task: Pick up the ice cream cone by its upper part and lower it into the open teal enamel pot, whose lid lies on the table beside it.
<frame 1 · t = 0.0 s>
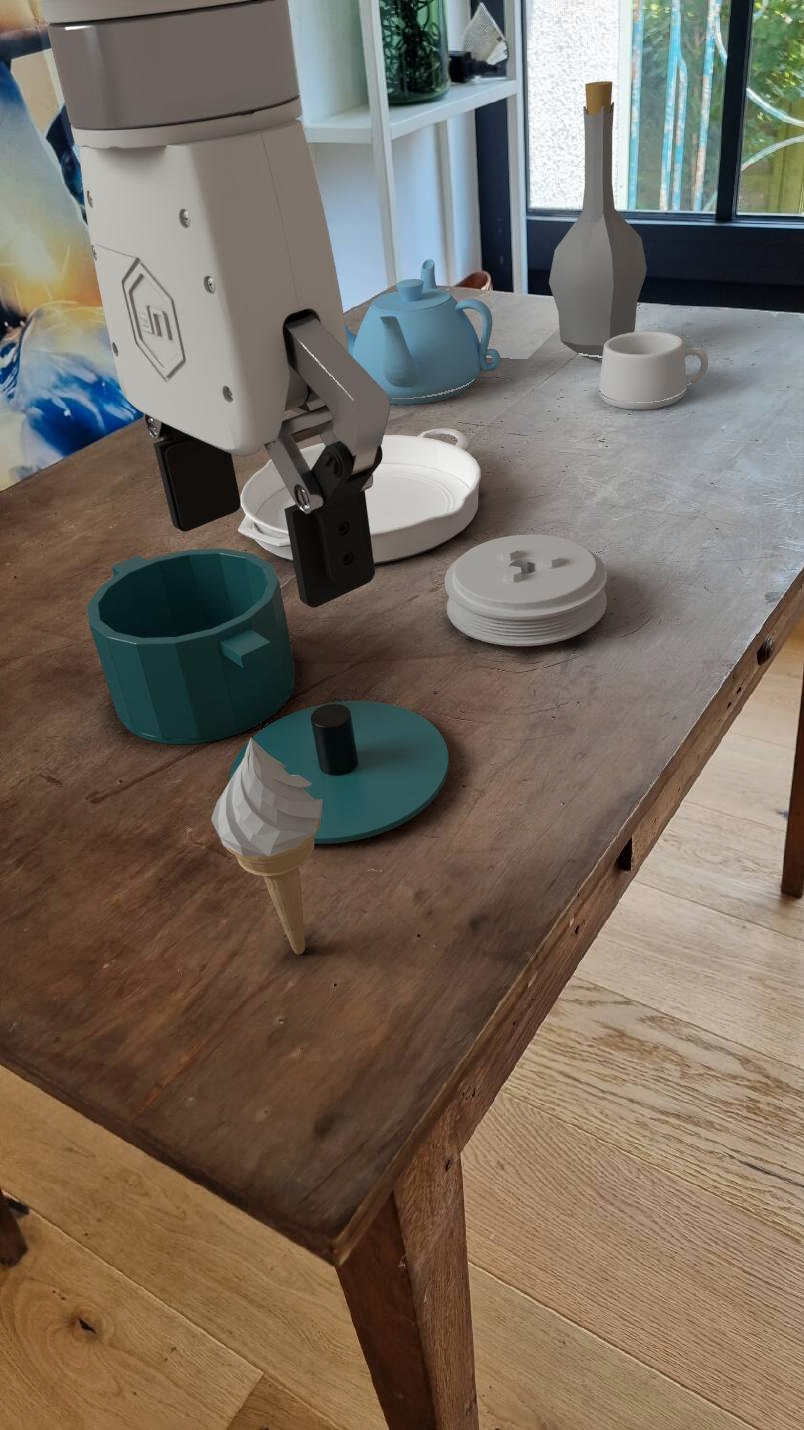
hand: (269, 553, 46), 25 cm above the table, tool pointing down, fingers open, 9 cm apart
mug: (652, 397, 125), on the table
pot: (206, 690, 84), on the table
bottle: (597, 363, 136), on the table
pan: (367, 516, 107), on the table
ice cream cone: (299, 955, 62), on the table
lid: (526, 616, 89), on the table
teapot: (411, 386, 136), on the table
pot lid: (339, 769, 74), point 1 cm above the table
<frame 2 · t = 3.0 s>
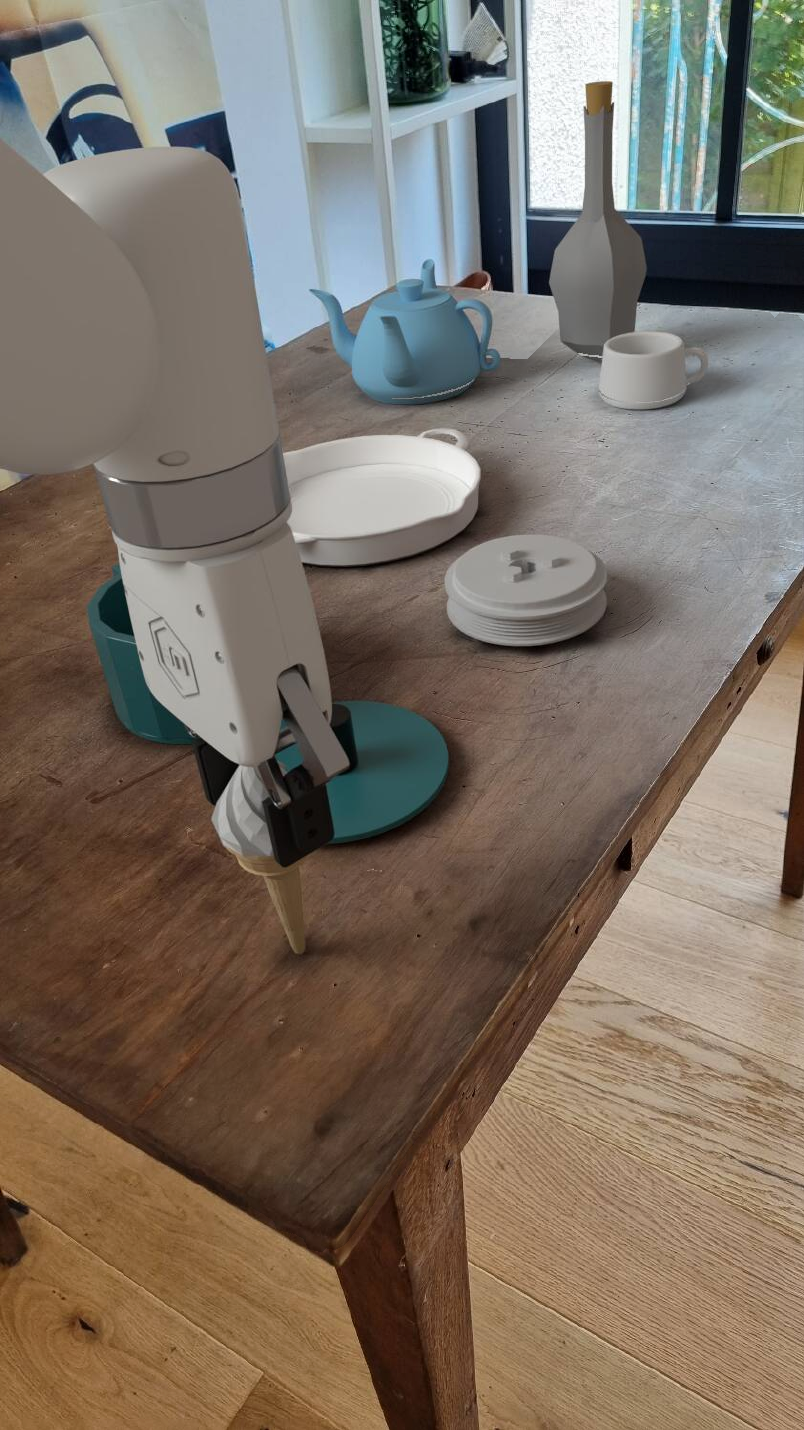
hand: (269, 817, 56), 10 cm above the table, tool pointing down, fingers closed on ice cream cone, 5 cm apart
ice cream cone: (299, 955, 62), on the table, touching gripper
everything else where it was.
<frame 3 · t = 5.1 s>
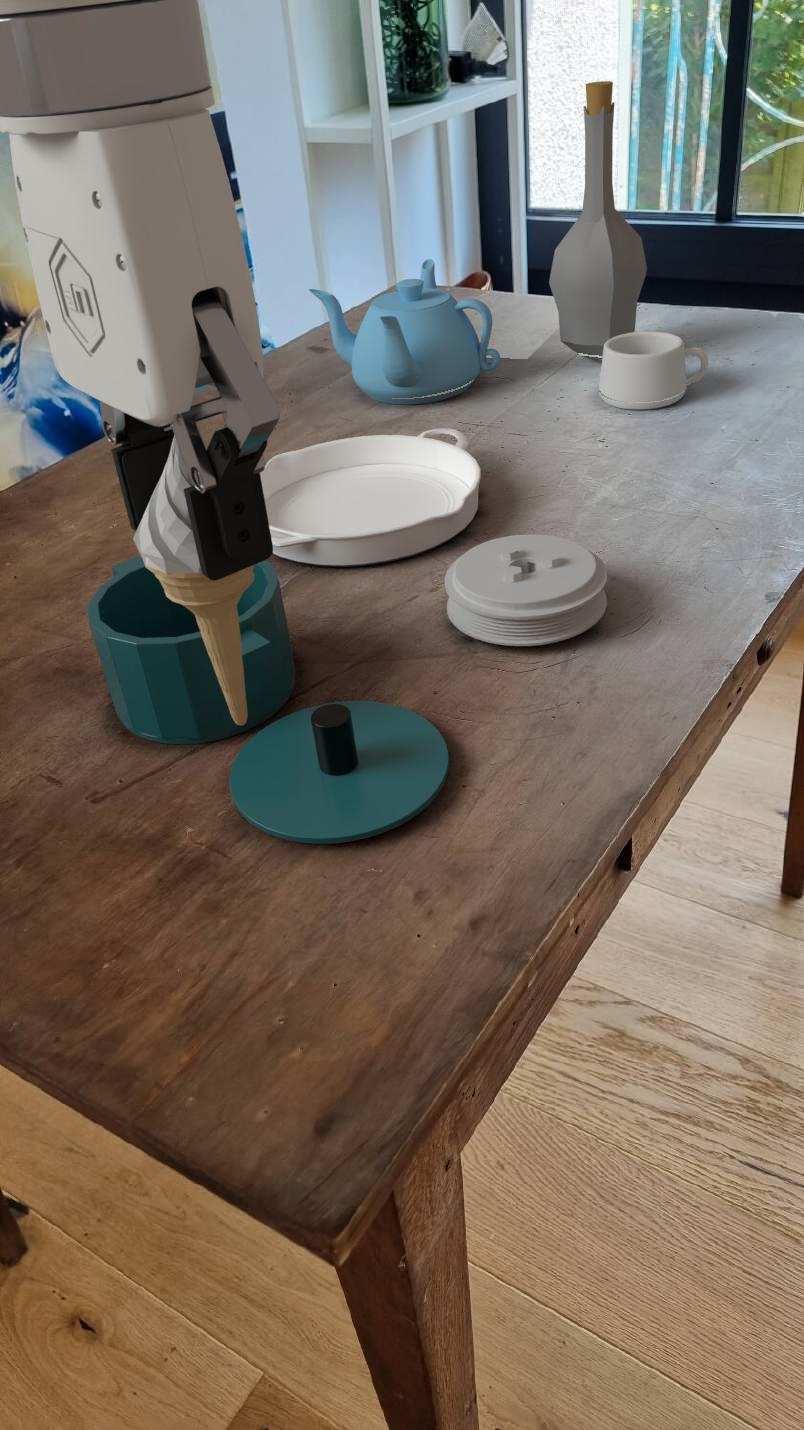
hand: (200, 540, 48), 25 cm above the table, tool pointing down, fingers closed on ice cream cone, 5 cm apart
ice cream cone: (241, 728, 54), point 15 cm above the table, touching gripper
everything else where it was.
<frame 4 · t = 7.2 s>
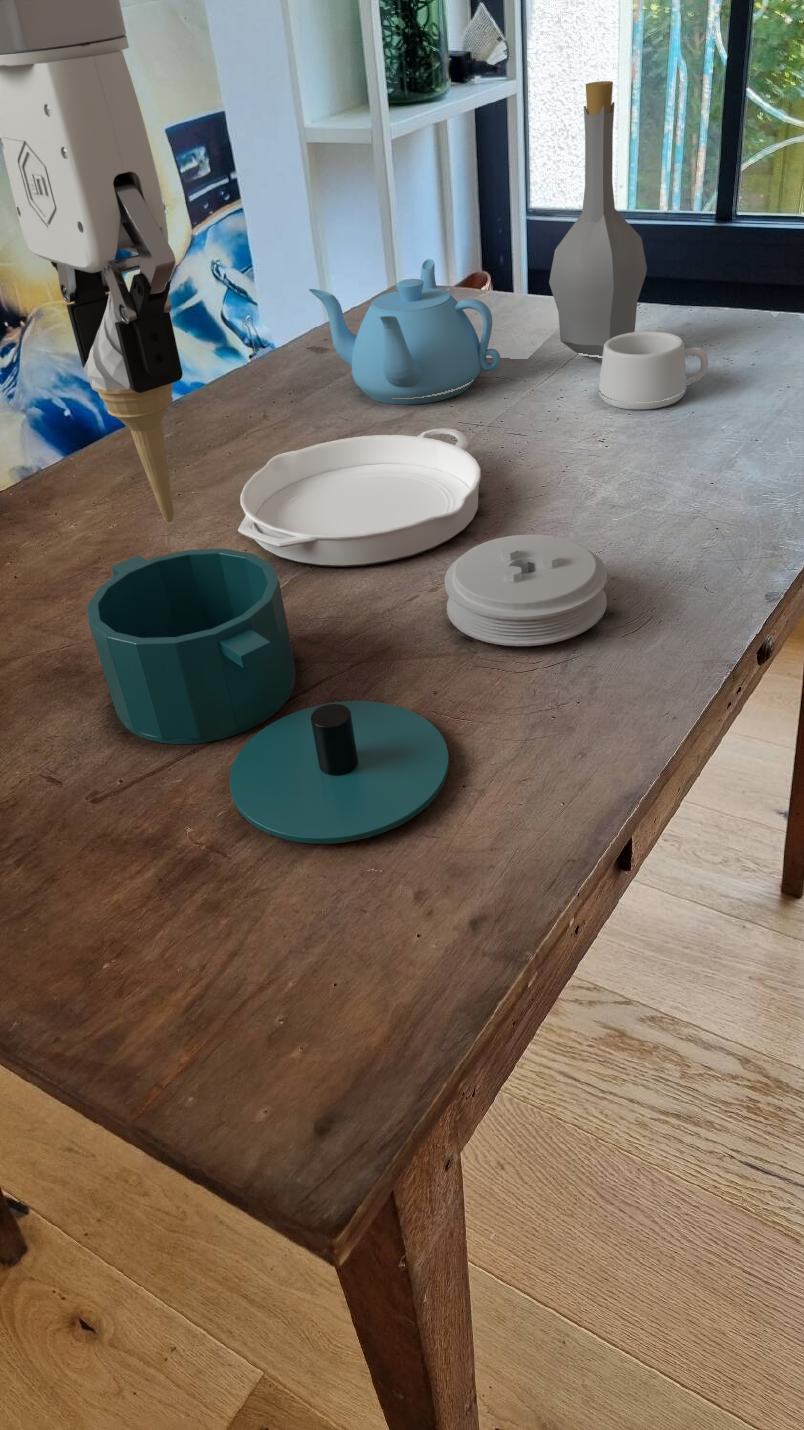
hand: (131, 372, 67), 25 cm above the table, tool pointing down, fingers closed on ice cream cone, 5 cm apart
ice cream cone: (169, 524, 73), point 15 cm above the table, touching gripper
everything else where it was.
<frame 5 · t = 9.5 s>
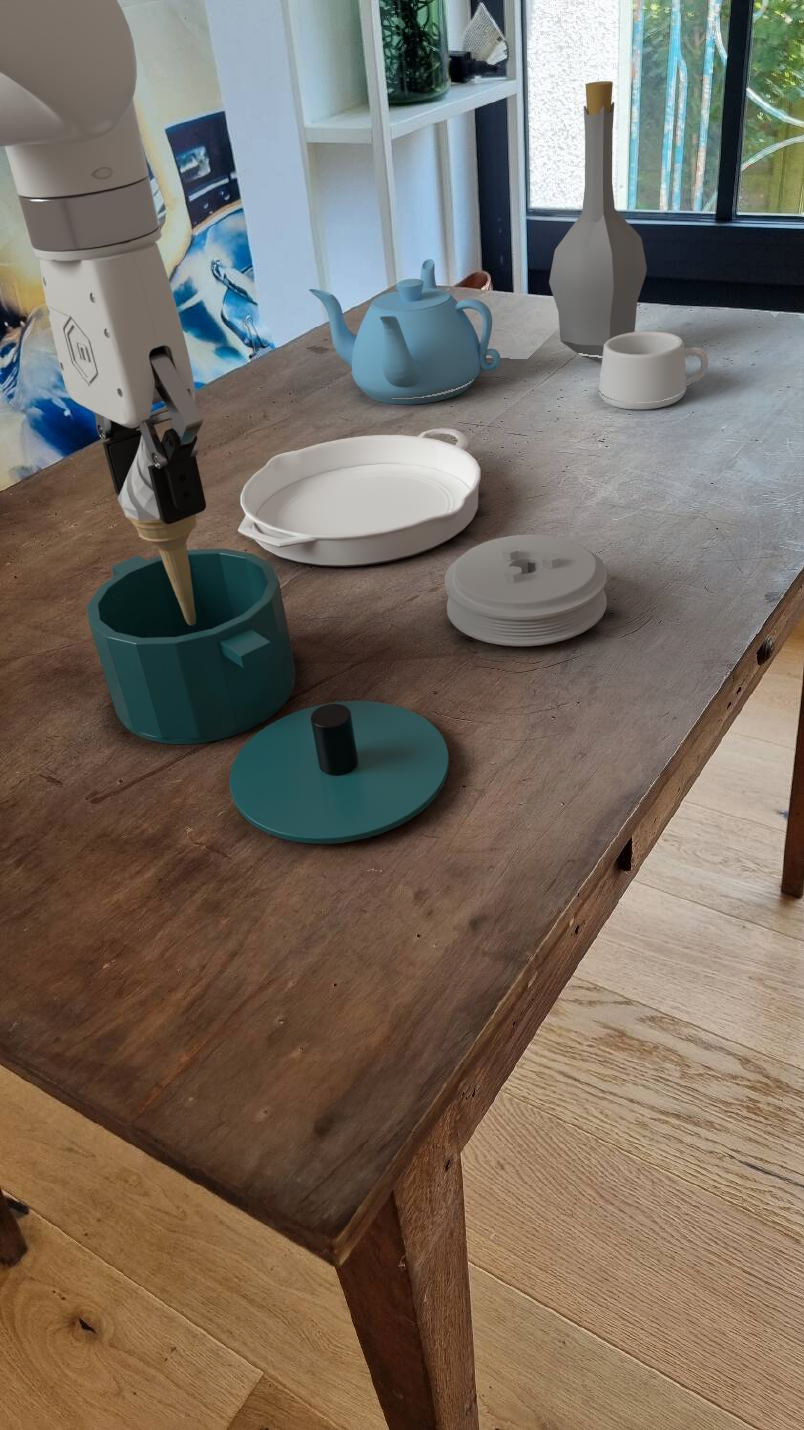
hand: (160, 500, 75), 16 cm above the table, tool pointing down, fingers closed on ice cream cone, 5 cm apart
ice cream cone: (192, 627, 81), point 6 cm above the table, touching gripper
everything else where it was.
when the fingers open (10 cm above the table, at t = 11.3 s): ice cream cone stays where it is, resting on pot.
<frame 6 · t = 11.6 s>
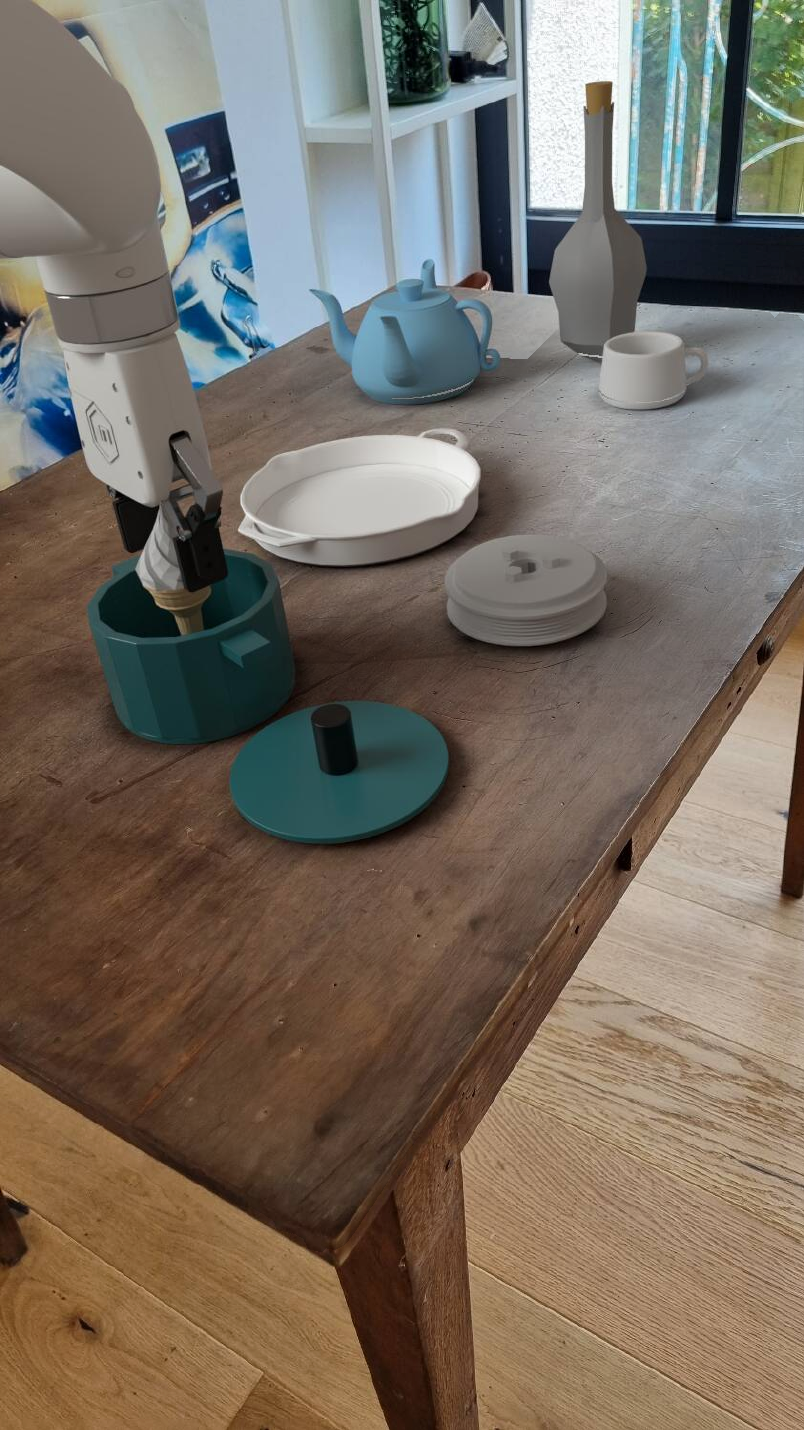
hand: (175, 563, 78), 11 cm above the table, tool pointing down, fingers open, 8 cm apart
ice cream cone: (205, 687, 84), resting on pot
everything else where it was.
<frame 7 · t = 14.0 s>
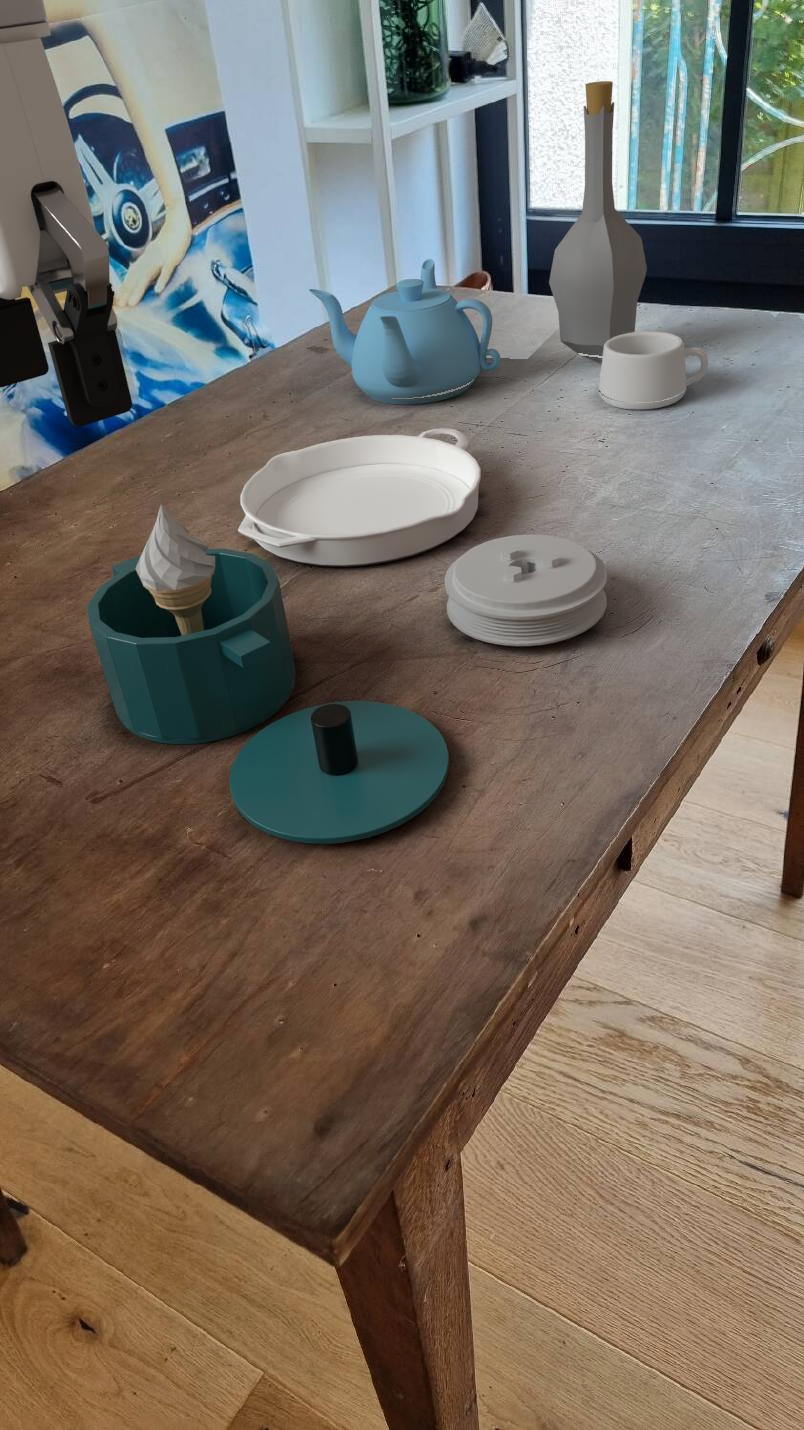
hand: (59, 397, 57), 28 cm above the table, tool pointing down, fingers open, 9 cm apart
nothing on the table moved.
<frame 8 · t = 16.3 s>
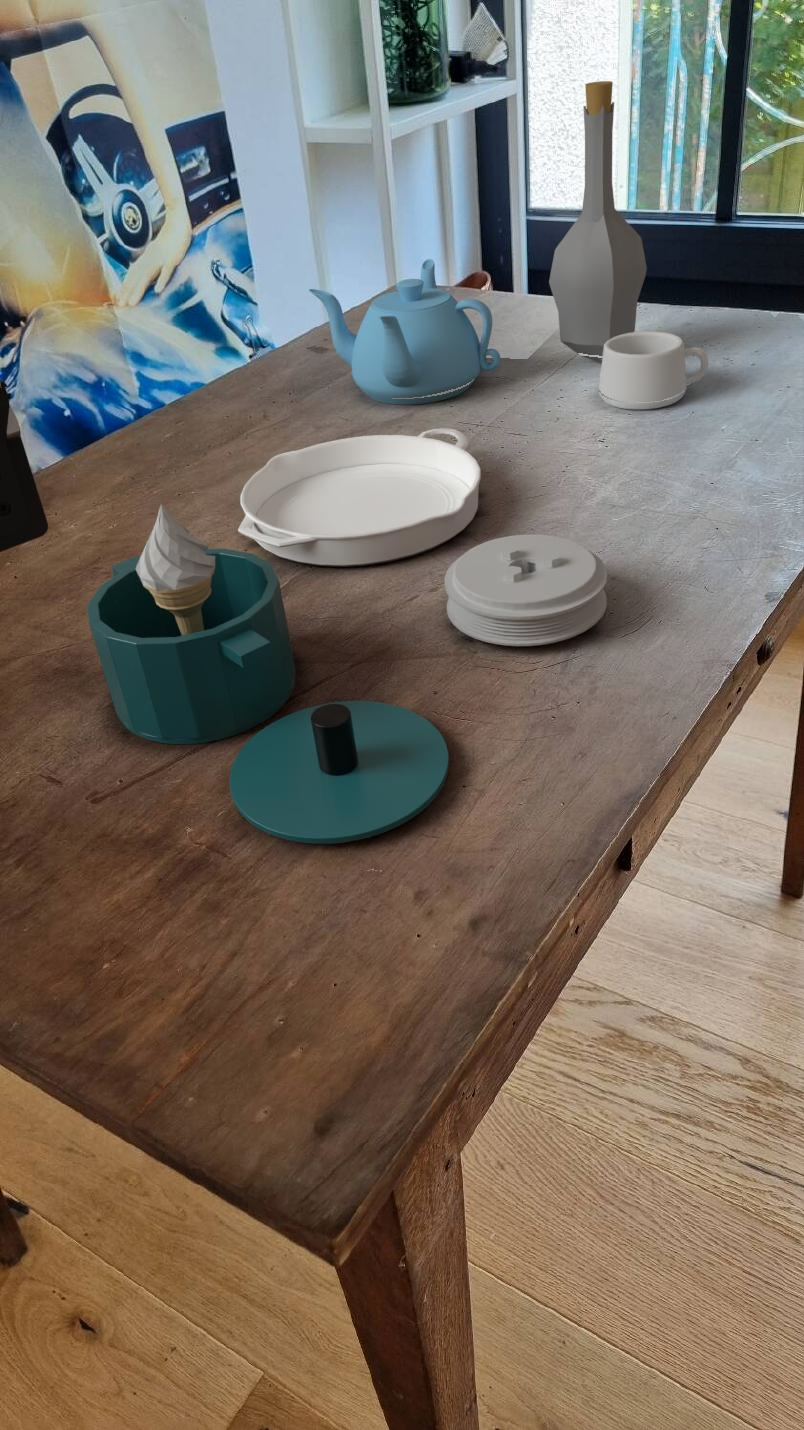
nothing on the table moved.
at the end: ice cream cone inside the target area in the pot (0.1 cm from its centre), point 0.3 cm above the pot's base; the gripper is holding nothing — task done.
